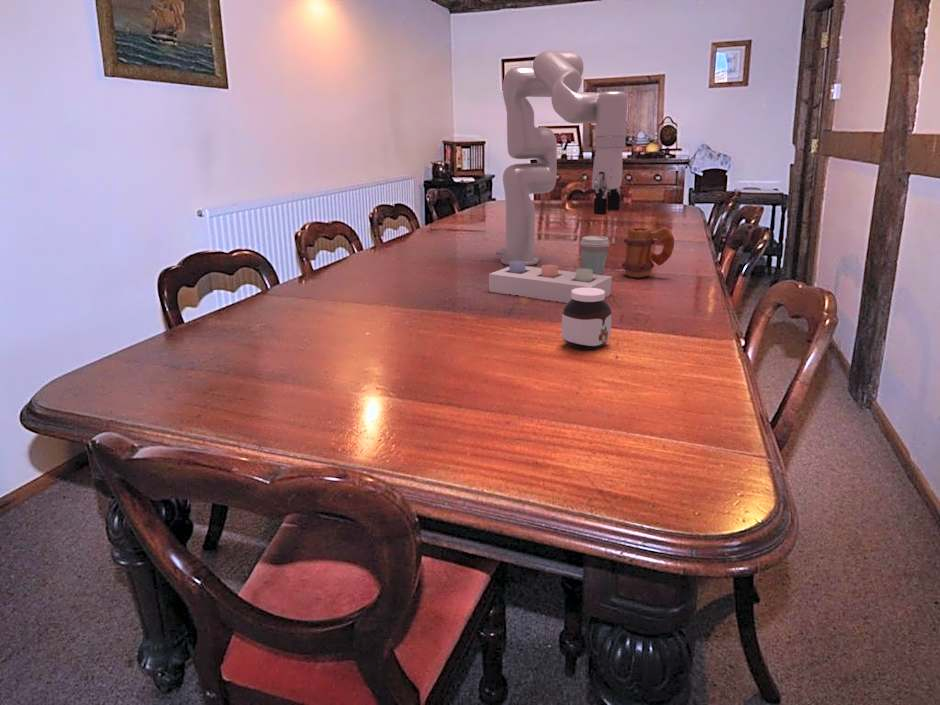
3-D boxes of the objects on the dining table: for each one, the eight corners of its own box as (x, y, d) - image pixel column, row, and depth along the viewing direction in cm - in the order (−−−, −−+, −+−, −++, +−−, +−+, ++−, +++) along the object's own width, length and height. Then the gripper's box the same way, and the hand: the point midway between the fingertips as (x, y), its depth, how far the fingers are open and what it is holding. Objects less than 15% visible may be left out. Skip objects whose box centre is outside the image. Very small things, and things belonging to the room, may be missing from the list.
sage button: (572, 289, 173) (573, 270, 172) (579, 286, 177) (580, 267, 175) (587, 291, 171) (588, 272, 169) (594, 287, 174) (595, 269, 173)
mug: (617, 277, 197) (620, 227, 192) (624, 272, 203) (628, 223, 198) (667, 282, 190) (672, 230, 185) (673, 276, 197) (678, 226, 192)
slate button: (506, 280, 184) (506, 262, 182) (514, 277, 187) (514, 260, 186) (520, 282, 181) (520, 264, 180) (527, 279, 185) (528, 261, 183)
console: (489, 291, 182) (489, 273, 181) (514, 281, 193) (514, 264, 192) (589, 306, 167) (590, 287, 165) (610, 294, 178) (611, 276, 176)
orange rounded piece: (538, 284, 179) (538, 266, 177) (545, 281, 182) (546, 263, 180) (553, 286, 176) (553, 268, 175) (560, 283, 180) (560, 265, 178)
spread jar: (581, 355, 133) (584, 299, 129) (543, 341, 141) (545, 288, 137) (621, 343, 139) (625, 289, 135) (583, 330, 148) (585, 279, 144)
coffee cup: (607, 281, 192) (609, 240, 188) (577, 280, 193) (579, 239, 189) (607, 275, 200) (609, 235, 196) (579, 274, 201) (580, 235, 197)
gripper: (607, 143, 176) (604, 208, 181) (583, 144, 162) (580, 215, 167) (635, 142, 172) (631, 209, 177) (612, 144, 158) (608, 216, 163)
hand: (606, 212), depth 172 cm, fingers open, 9 cm apart
